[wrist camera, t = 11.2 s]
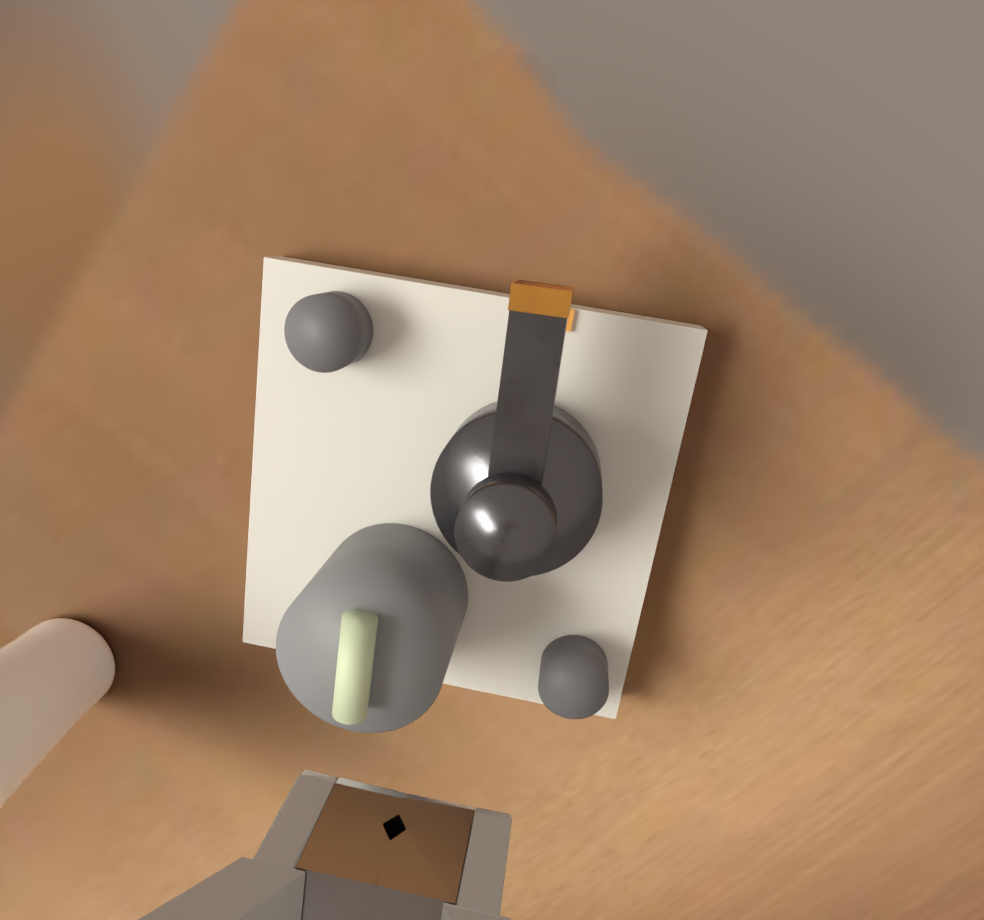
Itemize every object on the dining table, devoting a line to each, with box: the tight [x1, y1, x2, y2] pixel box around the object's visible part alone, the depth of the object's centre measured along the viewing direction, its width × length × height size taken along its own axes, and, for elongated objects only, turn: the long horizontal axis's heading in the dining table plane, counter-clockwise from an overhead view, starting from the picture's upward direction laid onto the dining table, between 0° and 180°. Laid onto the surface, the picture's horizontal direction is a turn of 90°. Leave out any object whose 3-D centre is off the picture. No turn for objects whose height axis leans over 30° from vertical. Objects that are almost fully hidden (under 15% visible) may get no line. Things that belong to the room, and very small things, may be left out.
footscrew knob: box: [430, 280, 603, 582], centre depth 29 cm, size 12×7×7 cm, turn 173°
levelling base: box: [243, 256, 708, 733], centre depth 31 cm, size 19×19×9 cm
